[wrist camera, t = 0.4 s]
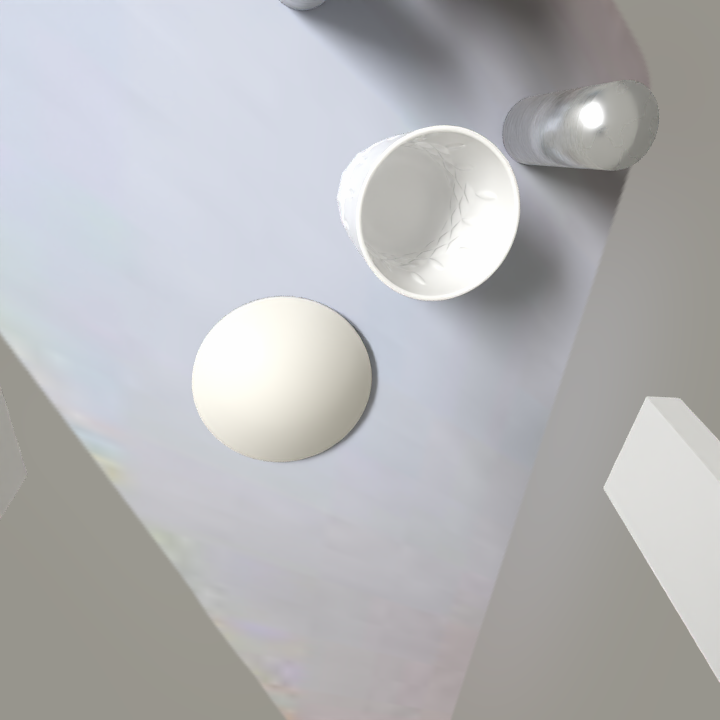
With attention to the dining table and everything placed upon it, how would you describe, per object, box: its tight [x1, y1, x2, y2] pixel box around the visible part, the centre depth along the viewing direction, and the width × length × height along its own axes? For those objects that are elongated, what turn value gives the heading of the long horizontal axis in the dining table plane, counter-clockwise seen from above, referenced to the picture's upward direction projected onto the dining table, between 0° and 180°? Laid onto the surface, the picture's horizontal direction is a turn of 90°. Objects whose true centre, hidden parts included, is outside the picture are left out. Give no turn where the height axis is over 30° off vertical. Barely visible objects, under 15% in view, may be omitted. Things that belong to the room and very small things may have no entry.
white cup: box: [337, 125, 520, 301], centre depth 30 cm, size 8×8×10 cm
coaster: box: [192, 296, 372, 462], centre depth 37 cm, size 12×12×1 cm
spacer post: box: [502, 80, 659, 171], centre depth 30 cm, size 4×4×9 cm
